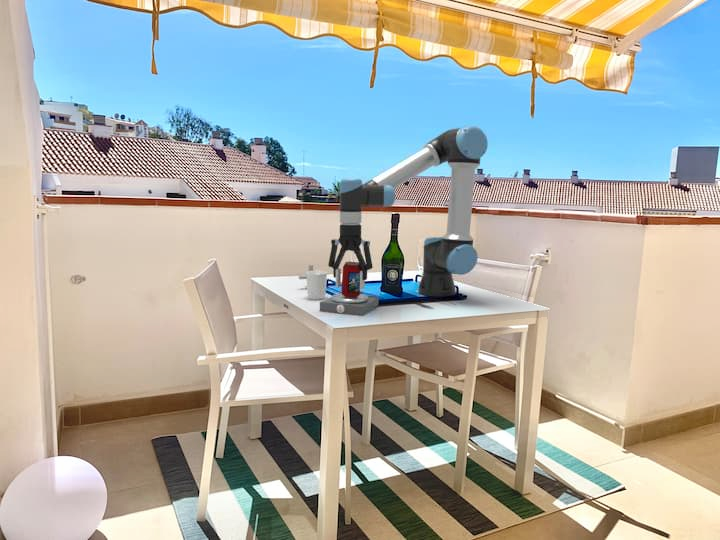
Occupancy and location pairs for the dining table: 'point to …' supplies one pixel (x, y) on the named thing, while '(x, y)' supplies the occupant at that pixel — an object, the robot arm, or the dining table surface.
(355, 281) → the beverage can
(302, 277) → the pipe connector
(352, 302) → the platter
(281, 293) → the dining table surface
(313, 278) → the white cup
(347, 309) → the scale
